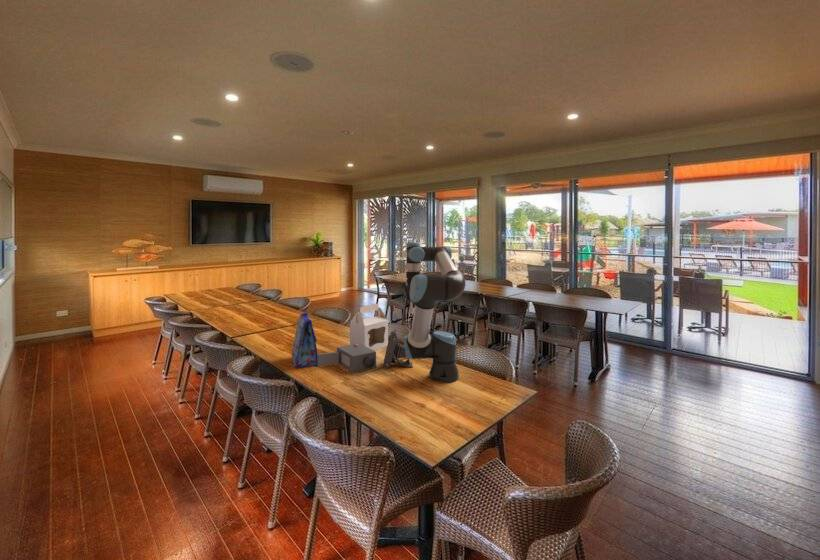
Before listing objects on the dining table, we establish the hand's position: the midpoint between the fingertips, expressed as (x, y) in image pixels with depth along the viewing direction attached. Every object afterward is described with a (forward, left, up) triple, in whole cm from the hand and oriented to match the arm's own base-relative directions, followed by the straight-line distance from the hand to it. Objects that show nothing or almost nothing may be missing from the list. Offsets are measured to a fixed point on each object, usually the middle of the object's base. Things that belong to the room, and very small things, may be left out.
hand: (412, 313), depth 215 cm
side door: (+23, +40, -28) cm, 54 cm away
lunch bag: (+39, +48, -30) cm, 69 cm away
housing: (+17, +27, -29) cm, 43 cm away
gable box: (+42, +4, -30) cm, 52 cm away
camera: (+4, +7, -30) cm, 31 cm away
